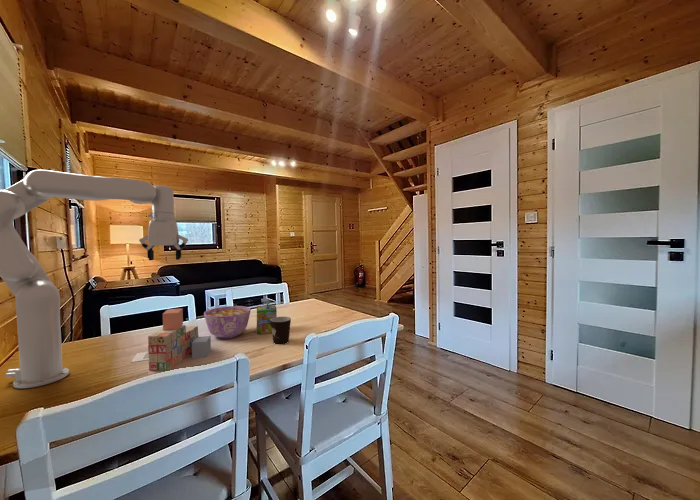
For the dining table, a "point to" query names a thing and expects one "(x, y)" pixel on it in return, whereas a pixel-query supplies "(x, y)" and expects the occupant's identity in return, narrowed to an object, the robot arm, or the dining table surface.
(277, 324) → the coffee mug
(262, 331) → the juice box
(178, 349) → the stack of blocks
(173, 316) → the terracotta brick
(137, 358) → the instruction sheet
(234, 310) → the bowl of food
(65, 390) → the dining table surface
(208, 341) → the slate brick
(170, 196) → the robot arm
